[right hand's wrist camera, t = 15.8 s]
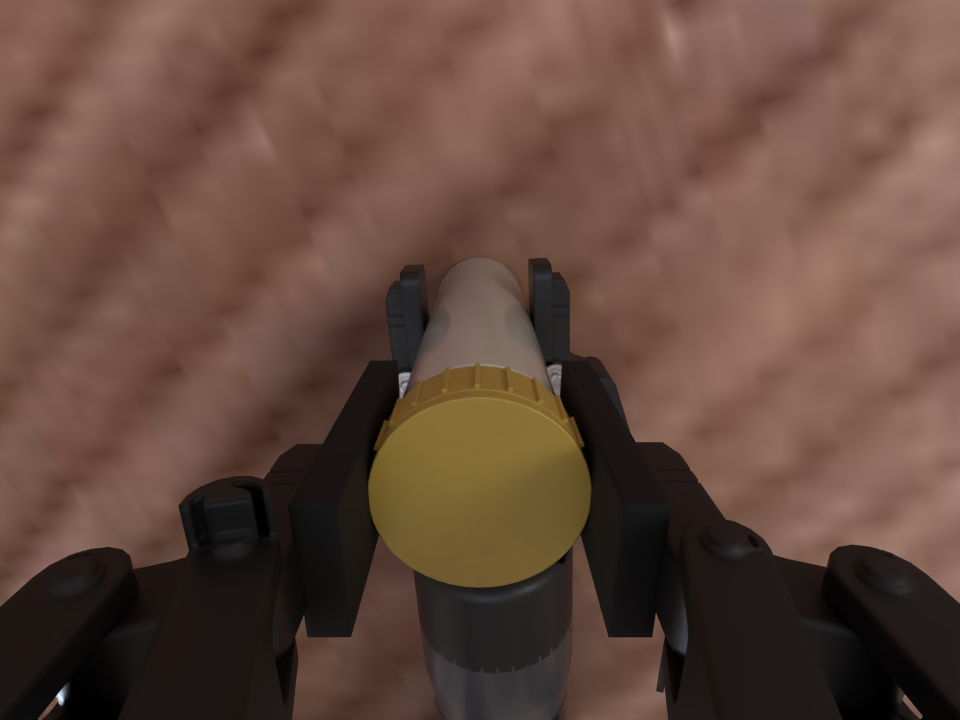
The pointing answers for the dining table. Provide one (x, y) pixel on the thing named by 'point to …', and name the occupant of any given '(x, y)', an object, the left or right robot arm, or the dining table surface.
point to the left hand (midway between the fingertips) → (475, 267)
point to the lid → (479, 478)
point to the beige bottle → (479, 325)
